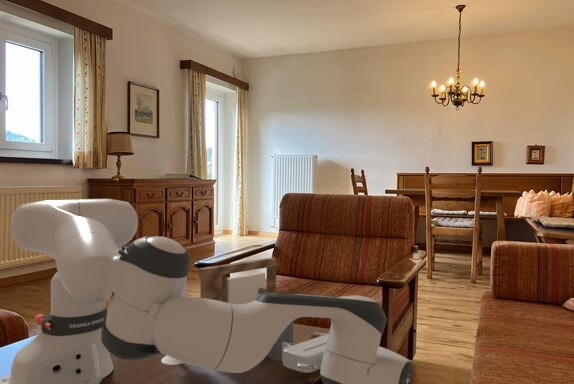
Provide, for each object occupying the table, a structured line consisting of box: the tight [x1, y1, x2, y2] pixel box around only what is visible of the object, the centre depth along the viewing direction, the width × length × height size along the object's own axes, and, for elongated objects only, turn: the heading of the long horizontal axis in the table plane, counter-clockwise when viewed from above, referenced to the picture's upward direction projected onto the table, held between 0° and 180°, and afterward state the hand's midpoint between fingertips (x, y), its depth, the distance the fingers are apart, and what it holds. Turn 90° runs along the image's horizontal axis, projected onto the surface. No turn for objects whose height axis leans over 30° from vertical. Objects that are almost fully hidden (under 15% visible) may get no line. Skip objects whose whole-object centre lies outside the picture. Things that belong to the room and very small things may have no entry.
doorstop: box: [265, 320, 294, 363], centre depth 115 cm, size 5×6×10 cm
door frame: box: [197, 257, 277, 303], centre depth 119 cm, size 23×2×22 cm, turn 132°
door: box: [227, 272, 267, 304], centre depth 120 cm, size 12×3×18 cm, turn 132°
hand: (299, 340), depth 109 cm, fingers open, 8 cm apart
